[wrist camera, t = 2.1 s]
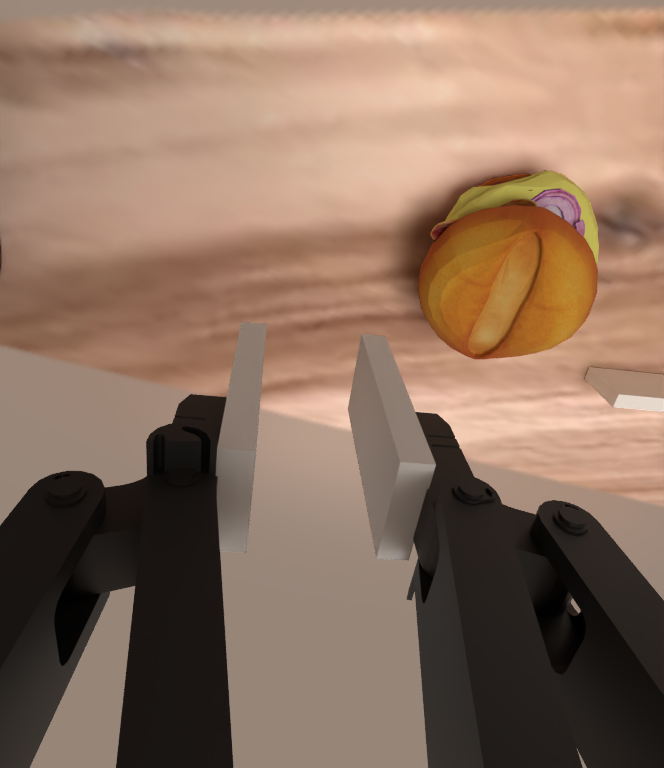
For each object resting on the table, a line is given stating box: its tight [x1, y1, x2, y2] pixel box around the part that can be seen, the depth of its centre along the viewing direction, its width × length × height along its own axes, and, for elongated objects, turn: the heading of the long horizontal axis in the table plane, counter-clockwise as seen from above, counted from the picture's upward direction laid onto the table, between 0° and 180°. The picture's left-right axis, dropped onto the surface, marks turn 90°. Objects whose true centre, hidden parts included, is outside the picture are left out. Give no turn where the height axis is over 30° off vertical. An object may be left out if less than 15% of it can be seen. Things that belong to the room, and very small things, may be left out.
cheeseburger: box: [418, 170, 599, 359], centre depth 32 cm, size 10×11×10 cm
